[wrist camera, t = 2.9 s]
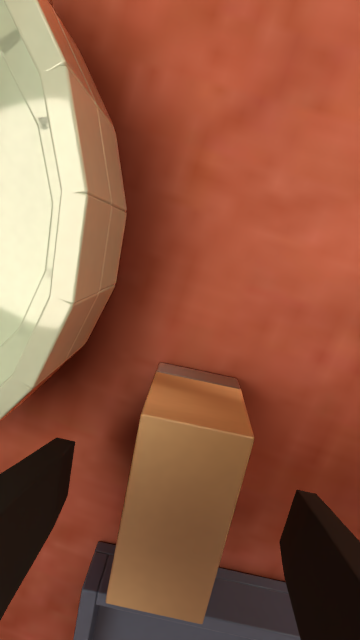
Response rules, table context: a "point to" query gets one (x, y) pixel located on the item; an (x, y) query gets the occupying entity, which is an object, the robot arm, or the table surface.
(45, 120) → the bowl
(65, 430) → the table surface
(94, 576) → the tray
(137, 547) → the eraser
